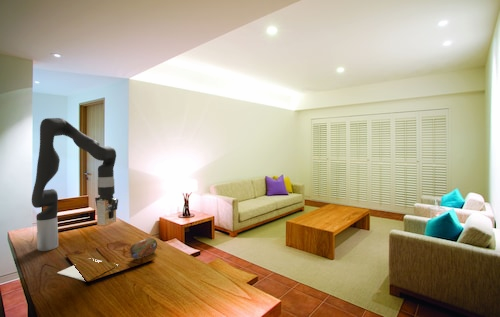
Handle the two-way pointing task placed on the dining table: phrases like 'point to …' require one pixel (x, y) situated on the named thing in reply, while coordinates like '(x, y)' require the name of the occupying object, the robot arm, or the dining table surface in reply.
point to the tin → (143, 248)
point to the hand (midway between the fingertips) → (107, 217)
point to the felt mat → (74, 272)
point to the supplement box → (104, 213)
